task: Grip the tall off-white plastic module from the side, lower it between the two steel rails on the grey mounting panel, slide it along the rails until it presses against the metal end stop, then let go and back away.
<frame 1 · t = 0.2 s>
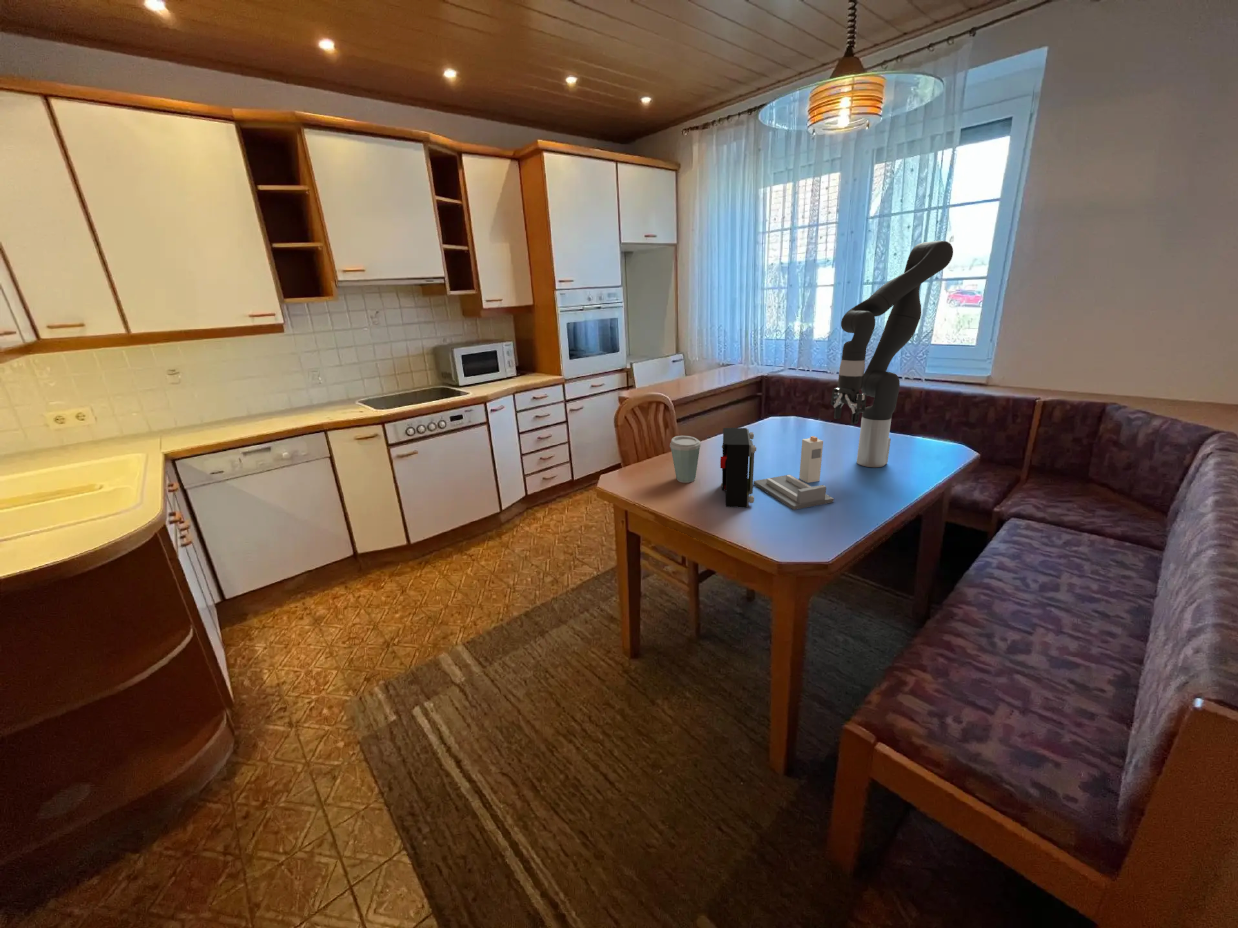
hand: (845, 421, 168), 18 cm above the table, tool pointing down, fingers open, 8 cm apart
mounting panel: (791, 492, 157), on the table
electrical component: (736, 496, 157), on the table
disposable coffee cup: (685, 480, 172), on the table
module: (809, 479, 166), on the table
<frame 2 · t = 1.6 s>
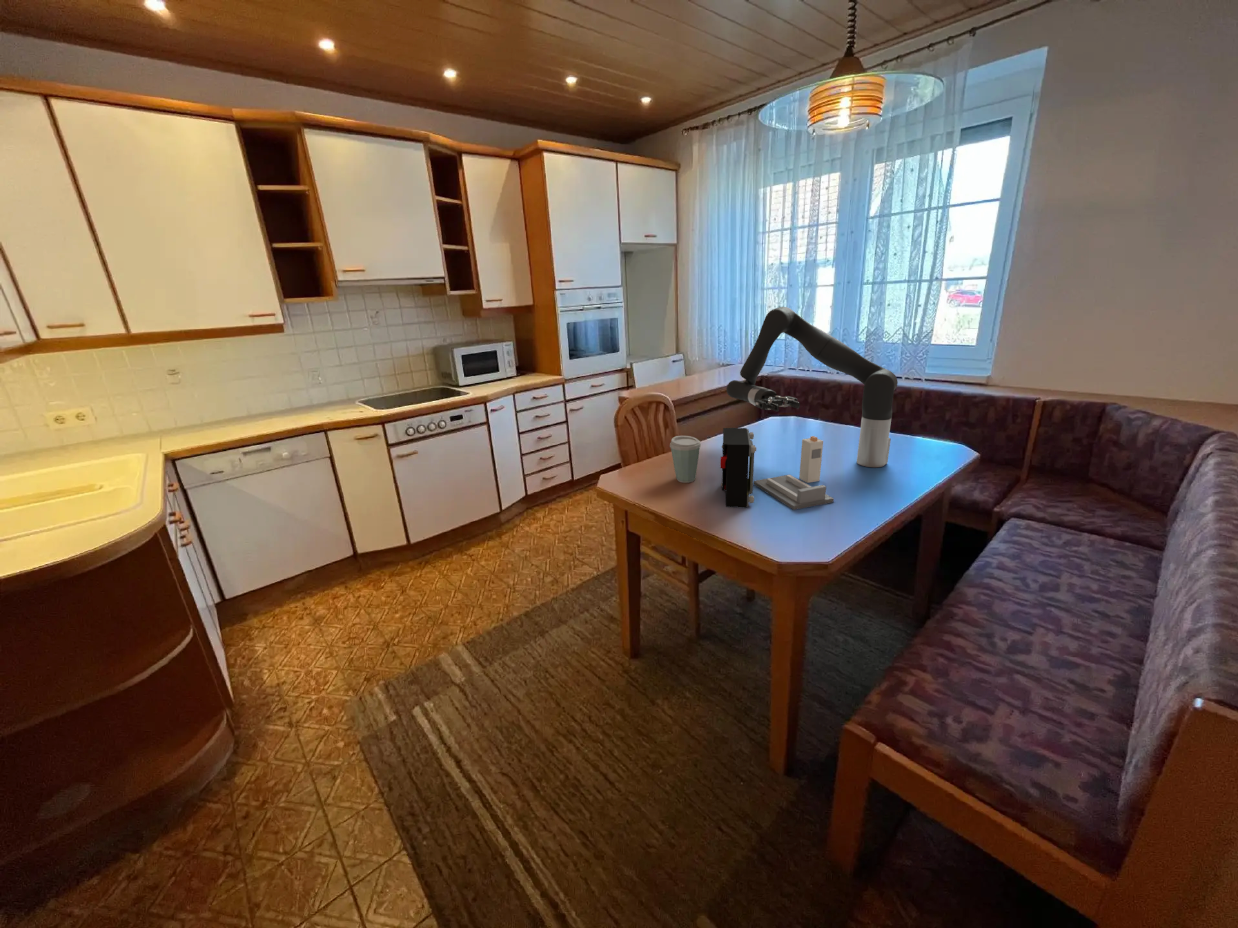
hand: (788, 407, 171), 22 cm above the table, tool horizontal, fingers open, 8 cm apart
nothing on the table moved.
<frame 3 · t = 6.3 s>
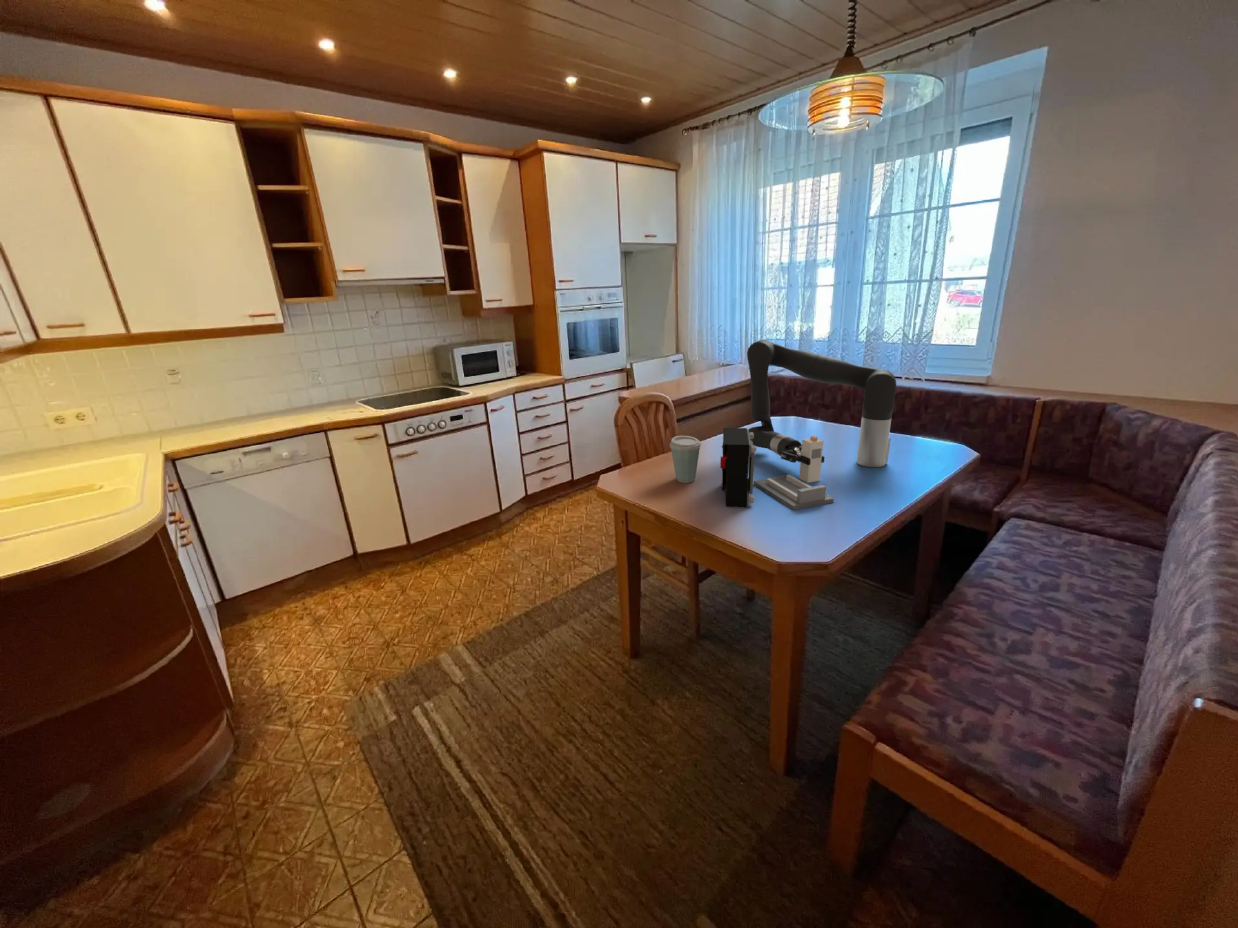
hand: (816, 461, 161), 8 cm above the table, tool horizontal, fingers closed on module, 4 cm apart
module: (809, 479, 166), on the table, touching gripper
everything else where it was.
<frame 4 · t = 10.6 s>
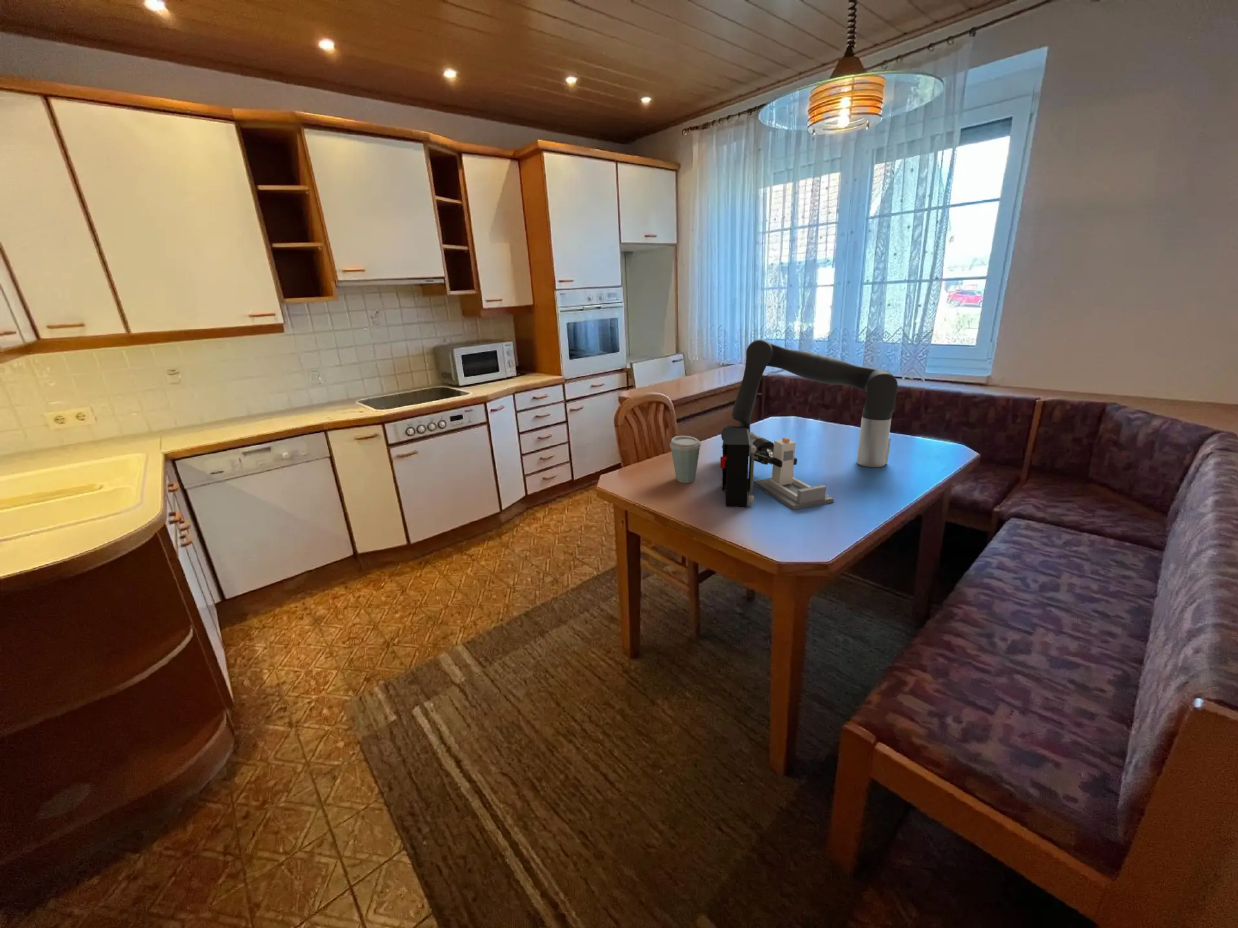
hand: (788, 463, 156), 9 cm above the table, tool horizontal, fingers closed on module, 4 cm apart
module: (781, 482, 161), point 2 cm above the table, touching gripper
everything else where it was.
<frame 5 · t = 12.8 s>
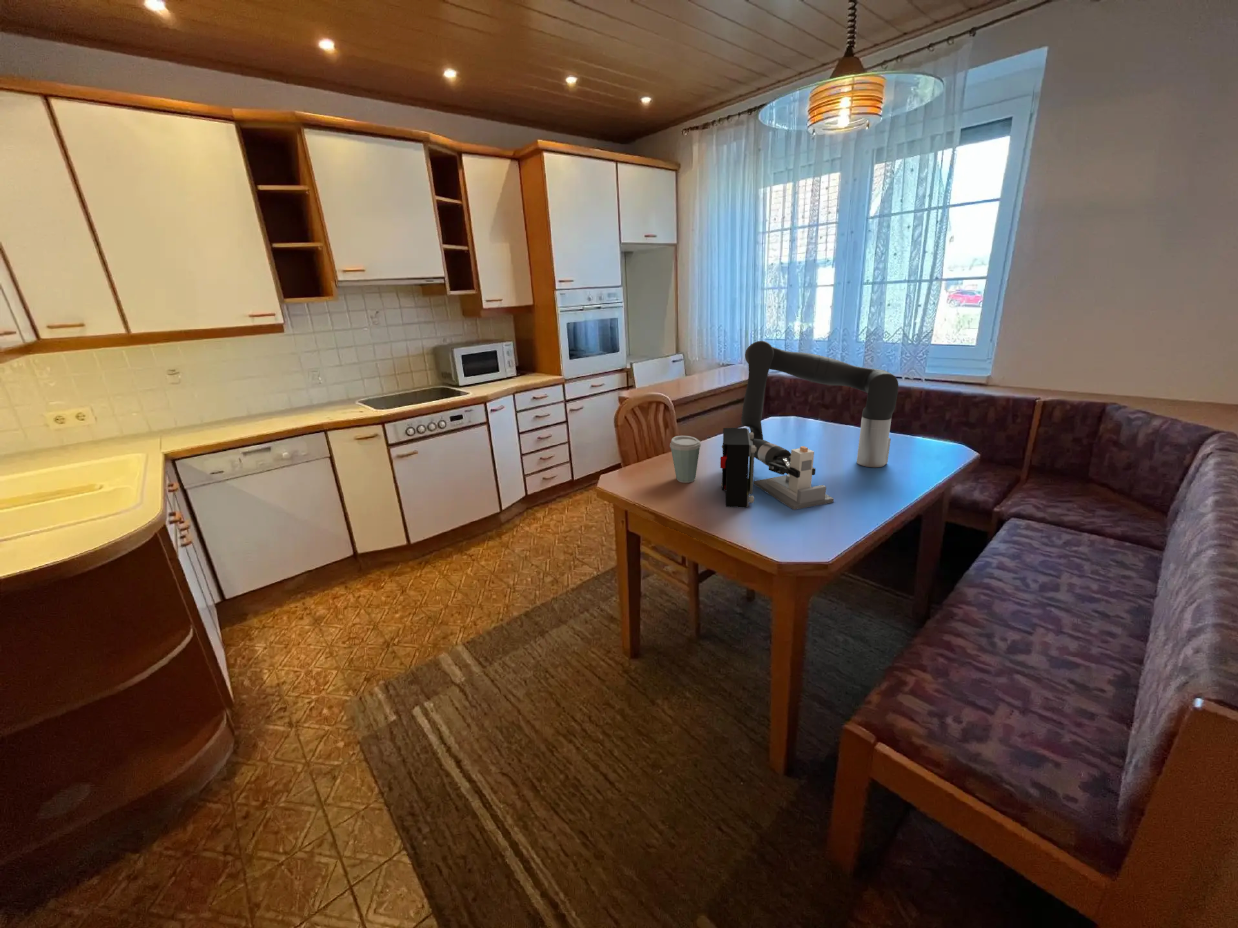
hand: (806, 473, 148), 9 cm above the table, tool horizontal, fingers closed on module, 4 cm apart
module: (799, 493, 153), point 1 cm above the table, touching gripper
everything else where it was.
when the fingers open (9 cm above the table, at t = 14.9 s): module stays where it is, resting on mounting panel.
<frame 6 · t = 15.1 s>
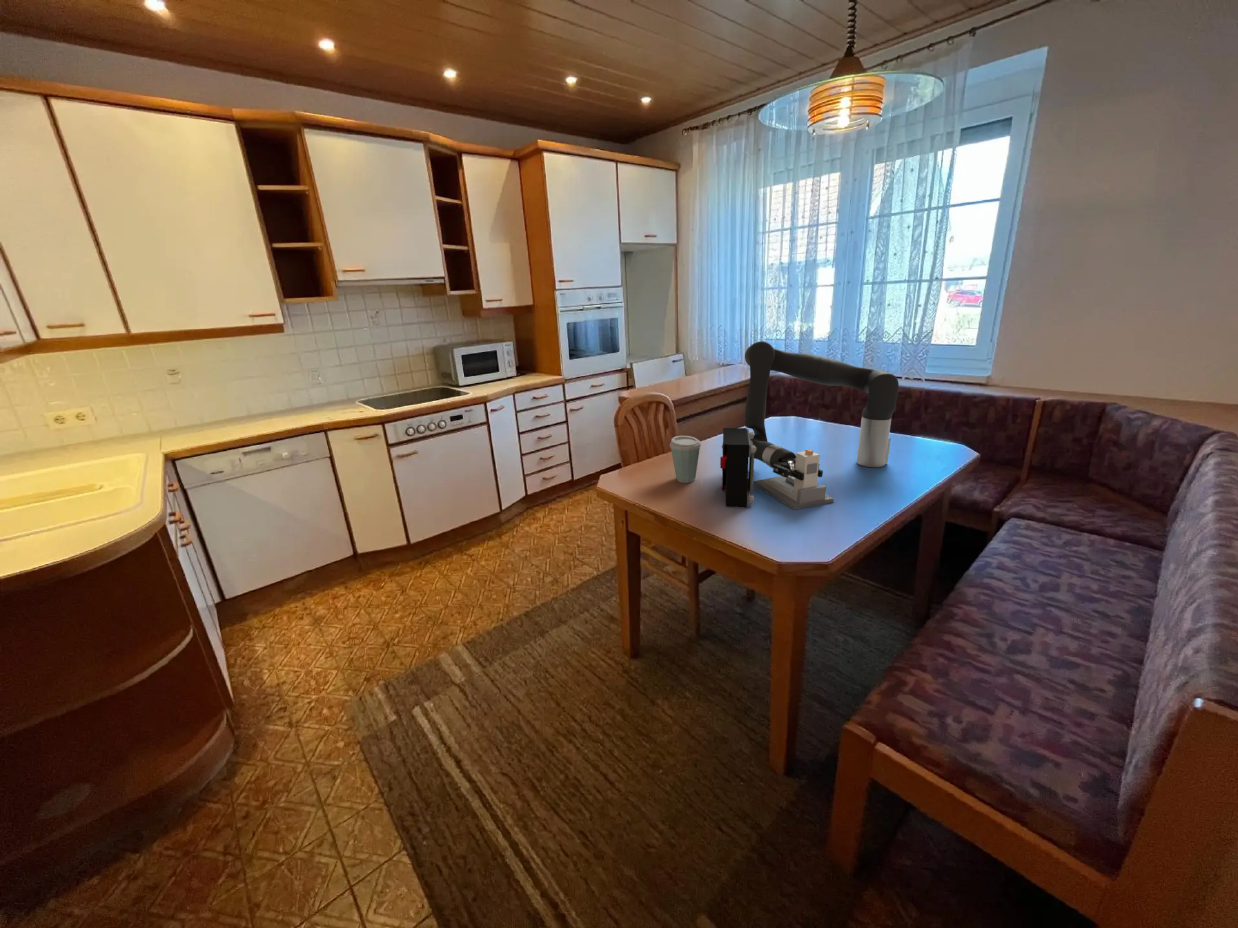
hand: (812, 475, 145), 9 cm above the table, tool horizontal, fingers open, 6 cm apart
module: (804, 496, 151), point 1 cm above the table, touching mounting panel
everything else where it was.
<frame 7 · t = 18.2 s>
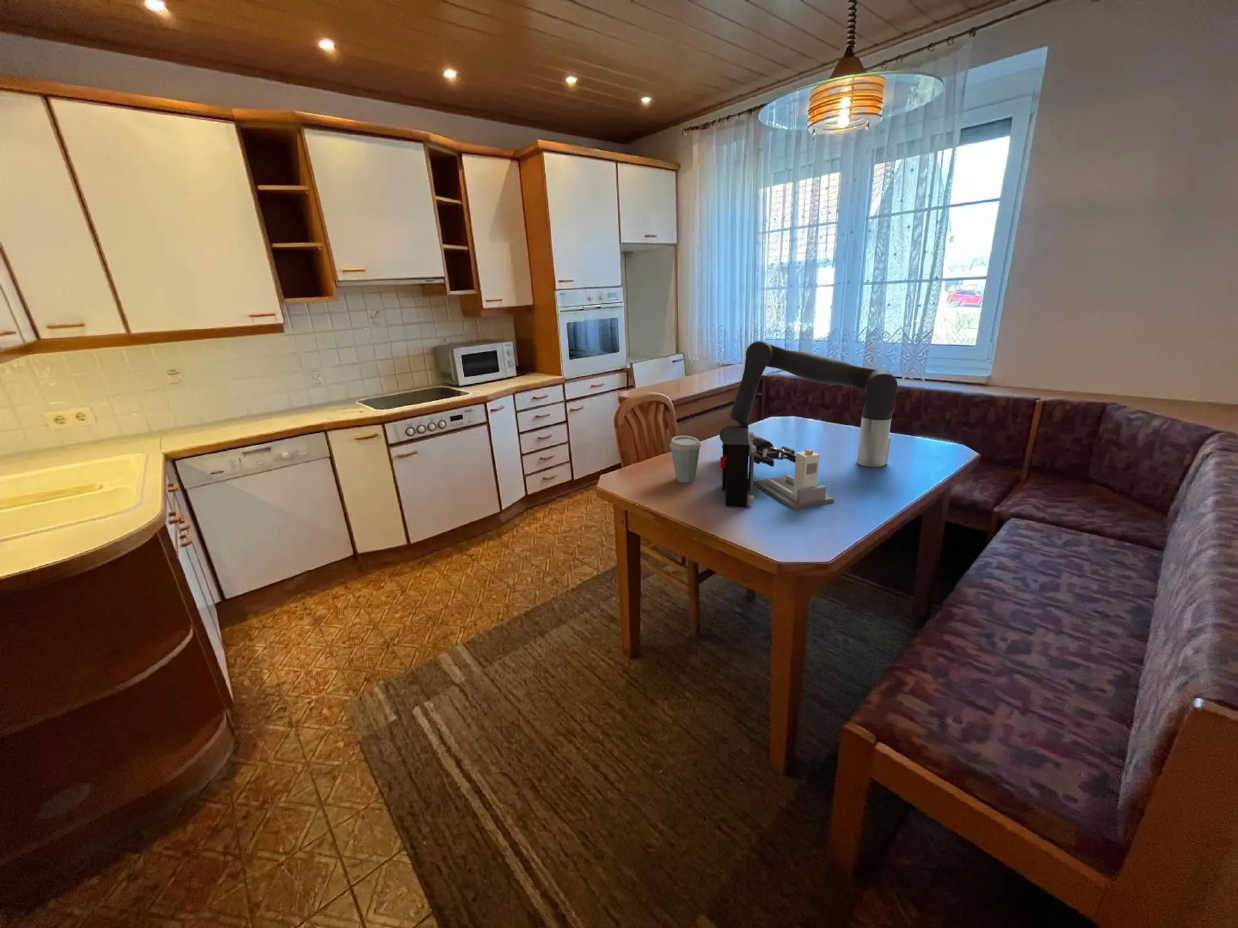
hand: (784, 461, 158), 9 cm above the table, tool horizontal, fingers open, 8 cm apart
nothing on the table moved.
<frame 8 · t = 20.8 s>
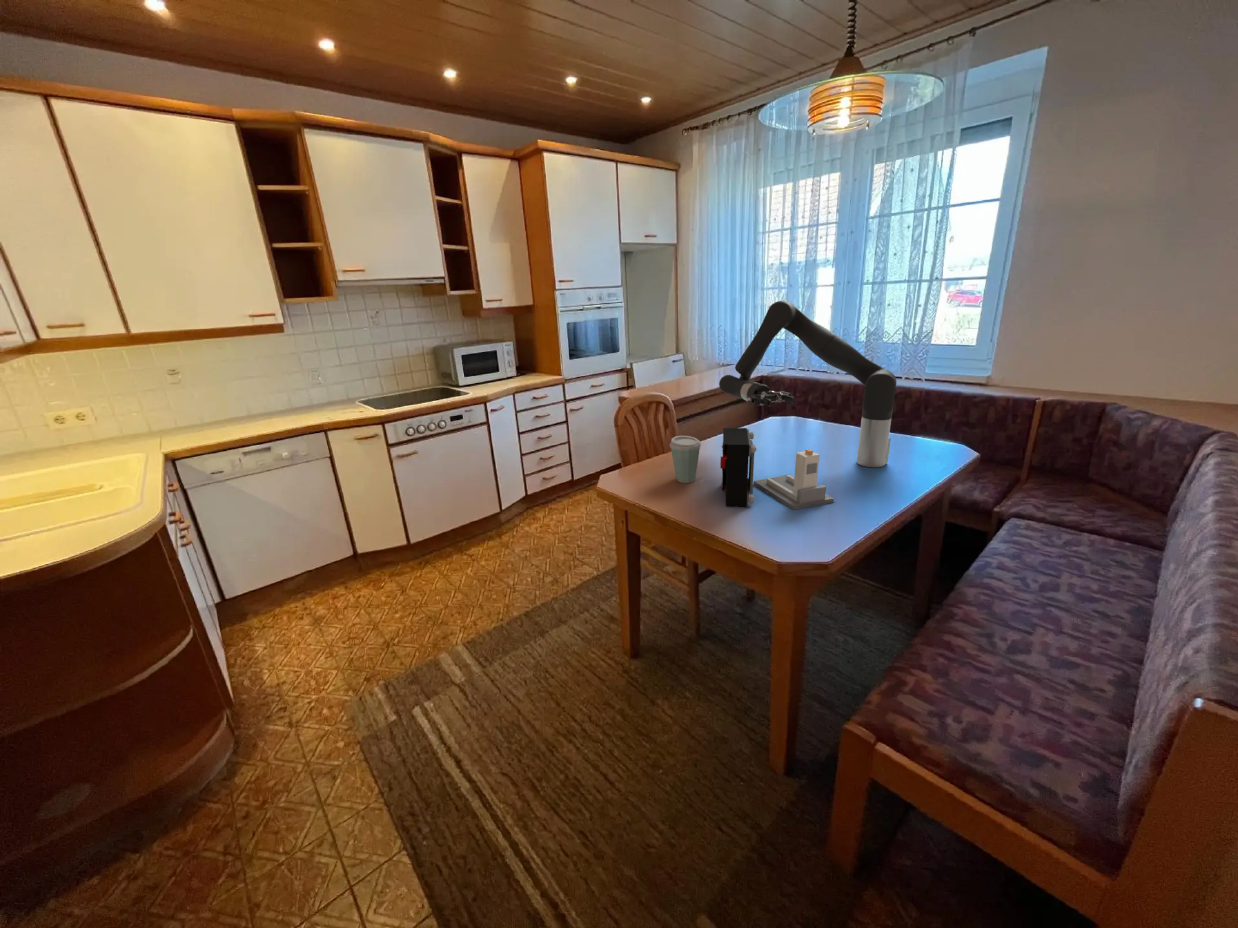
hand: (781, 402, 163), 26 cm above the table, tool horizontal, fingers open, 8 cm apart
nothing on the table moved.
at the end: module 0.2 cm from the target spot on the mounting panel, point 1.2 cm above the mounting panel's base; module tilted 0°; the gripper is holding nothing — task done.
